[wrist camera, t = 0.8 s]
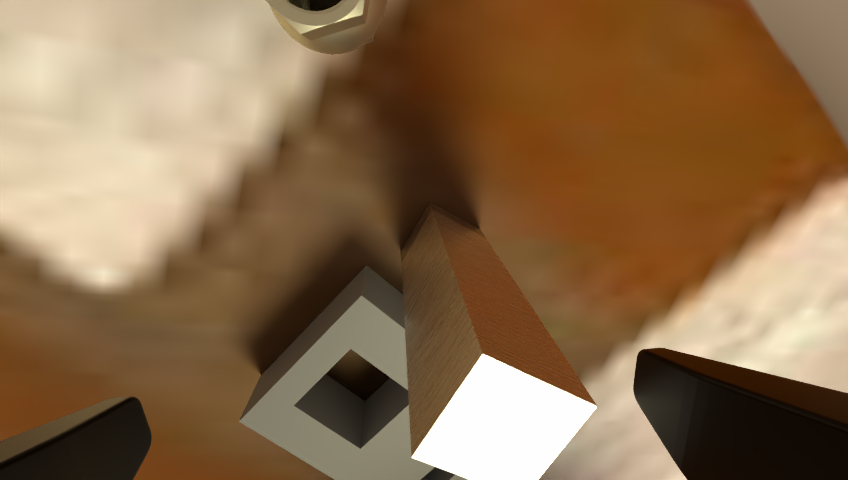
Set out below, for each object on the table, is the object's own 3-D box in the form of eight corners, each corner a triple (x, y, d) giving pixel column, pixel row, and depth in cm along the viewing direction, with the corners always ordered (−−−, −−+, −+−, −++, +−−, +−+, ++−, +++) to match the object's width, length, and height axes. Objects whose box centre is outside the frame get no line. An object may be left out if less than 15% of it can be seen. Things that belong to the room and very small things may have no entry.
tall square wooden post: (401, 251, 21) (411, 457, 9) (429, 202, 21) (483, 353, 8) (450, 276, 22) (522, 499, 10) (479, 228, 21) (597, 406, 9)
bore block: (260, 375, 23) (239, 421, 20) (366, 265, 22) (361, 295, 18) (427, 484, 27) (432, 539, 23) (529, 397, 25) (550, 442, 22)
